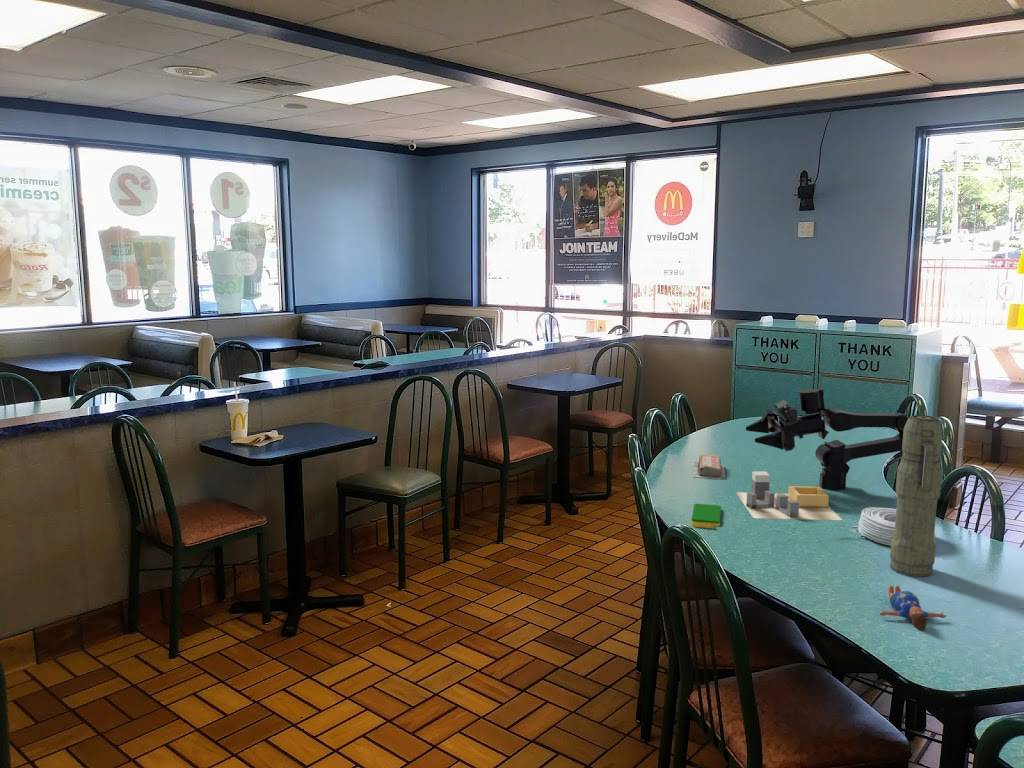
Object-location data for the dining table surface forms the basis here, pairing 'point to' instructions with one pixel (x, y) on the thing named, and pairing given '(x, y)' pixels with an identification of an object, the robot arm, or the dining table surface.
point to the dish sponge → (706, 516)
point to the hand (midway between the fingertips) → (750, 434)
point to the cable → (878, 524)
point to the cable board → (775, 514)
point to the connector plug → (760, 483)
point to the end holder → (808, 496)
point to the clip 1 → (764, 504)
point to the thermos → (917, 497)
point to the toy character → (908, 607)
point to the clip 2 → (787, 506)
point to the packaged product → (708, 467)
